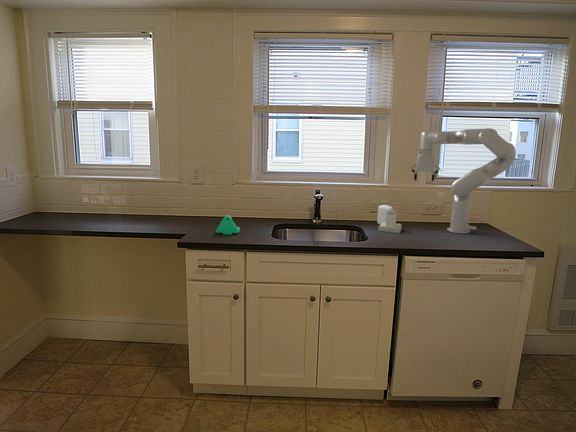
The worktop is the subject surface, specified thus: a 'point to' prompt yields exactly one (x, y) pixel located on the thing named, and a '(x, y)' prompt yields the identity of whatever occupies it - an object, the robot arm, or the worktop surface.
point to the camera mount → (227, 226)
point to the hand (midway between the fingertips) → (424, 180)
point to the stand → (390, 228)
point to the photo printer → (383, 213)
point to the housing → (391, 218)
